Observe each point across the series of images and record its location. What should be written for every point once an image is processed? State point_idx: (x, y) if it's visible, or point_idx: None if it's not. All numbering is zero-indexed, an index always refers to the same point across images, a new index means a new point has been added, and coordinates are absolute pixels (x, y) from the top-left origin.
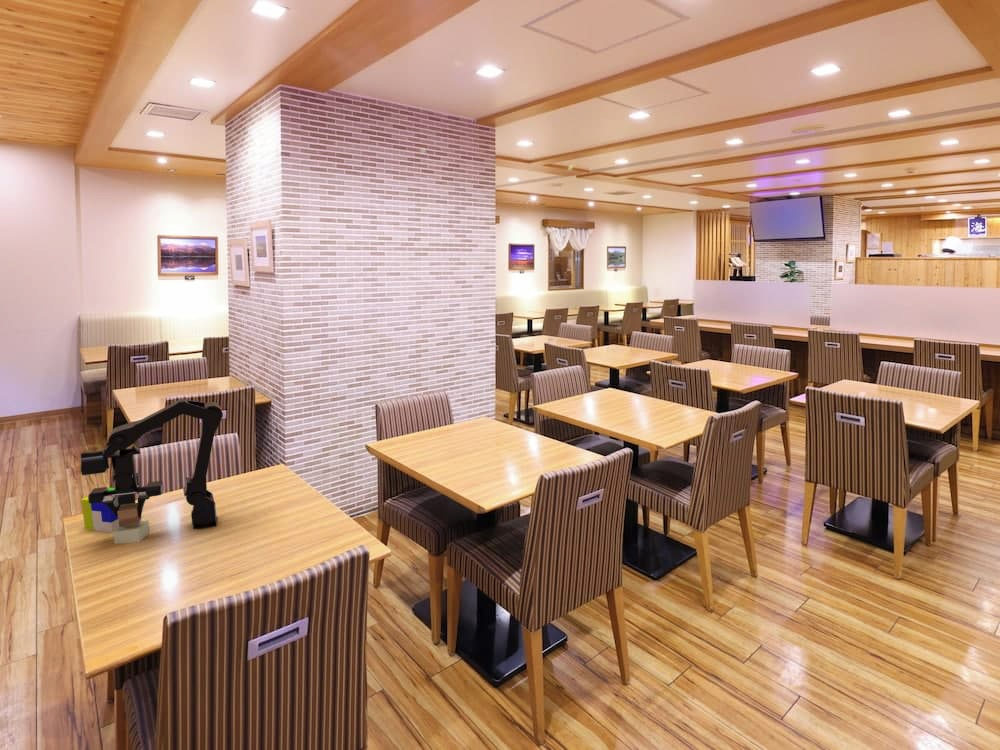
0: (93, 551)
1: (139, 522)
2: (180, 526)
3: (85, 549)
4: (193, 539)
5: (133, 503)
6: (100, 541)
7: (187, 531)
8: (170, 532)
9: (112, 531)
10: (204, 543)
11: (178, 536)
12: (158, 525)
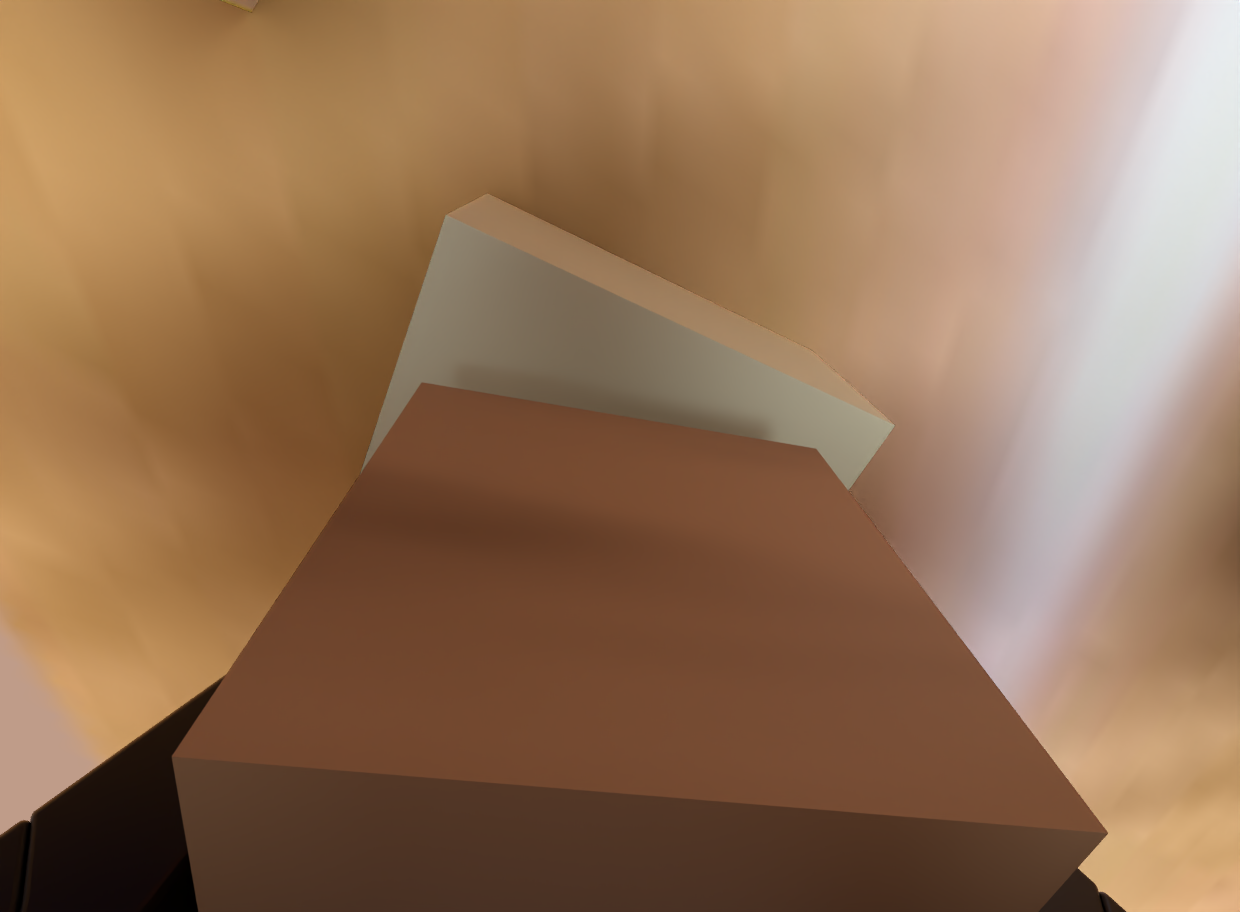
0: (174, 598)
1: (739, 429)
2: (1192, 373)
3: (38, 505)
4: (1103, 743)
5: (832, 837)
6: (156, 336)
7: (1164, 561)
8: (1015, 499)
9: (241, 5)
10: (1125, 830)
11: (1034, 634)
12: (986, 143)
